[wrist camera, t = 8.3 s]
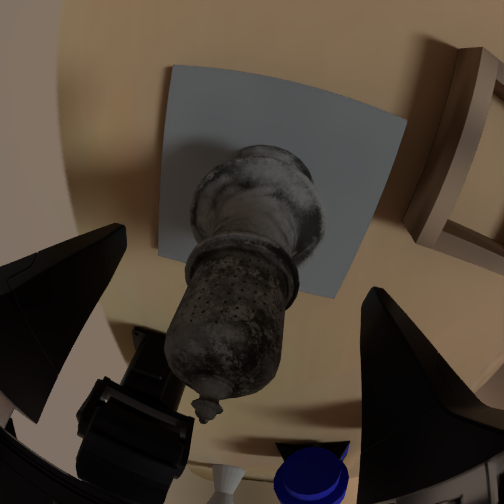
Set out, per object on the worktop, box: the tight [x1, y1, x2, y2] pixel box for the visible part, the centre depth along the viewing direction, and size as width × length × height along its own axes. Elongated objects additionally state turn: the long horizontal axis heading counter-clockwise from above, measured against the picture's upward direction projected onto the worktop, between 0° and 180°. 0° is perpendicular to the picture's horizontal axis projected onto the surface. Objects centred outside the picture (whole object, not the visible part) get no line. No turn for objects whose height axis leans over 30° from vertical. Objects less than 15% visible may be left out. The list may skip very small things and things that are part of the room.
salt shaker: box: [164, 145, 327, 424], centre depth 10 cm, size 6×6×12 cm
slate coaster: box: [158, 65, 407, 299], centre depth 15 cm, size 12×12×1 cm
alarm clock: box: [274, 441, 350, 504], centre depth 33 cm, size 12×12×15 cm
